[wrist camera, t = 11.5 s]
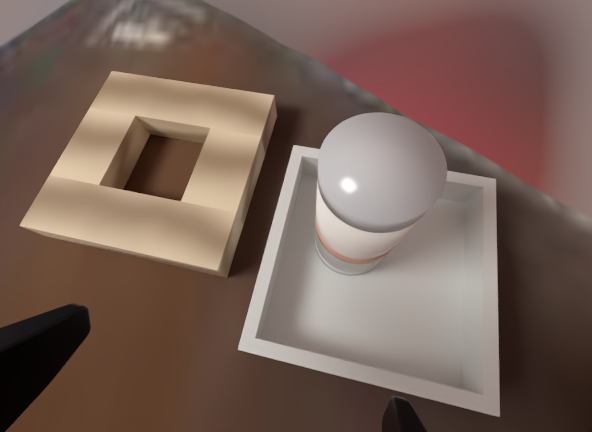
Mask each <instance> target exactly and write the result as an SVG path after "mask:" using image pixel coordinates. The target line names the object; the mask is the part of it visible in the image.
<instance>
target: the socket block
mask: <svg viewBox="0 0 592 432" xmlns="http://www.w3.org/2000/svg"><path fill="white" fill-rule="evenodd" d="M276 118H277V110H276V103H275V96H274V95H268V94H262V93H255V92H248V91H242V90H235V89H228V88H222V87H215V86H208V85H201V84H195V83H188V82H181V81H175V80H168V79H161V78H155V77H148V76H141V75H135V74H128V73H121V72H114V71H112V72H111V73H110V75H109V77H108V79H107V80H106V82H105V84H104V85H103V87H102V89H101V90H100V92H99V94H98V95H97V97H96V99H95V100H94V102H93V104H92V105H91V107H90V109H89V110H88V112H87V114H86V115H85V117H84V119H83V120H82V122H81V124H80V125H79V127H78V129H77V130H76V132H75V134H74V135H73V137H72V139H71V140H70V142H69V144H68V145H67V147H66V149H65V150H64V152H63V154H62V155H61V157H60V159H59V160H58V162H57V164H56V165H55V167H54V169H53V170H52V172H51V174H50V175H49V177H48V179H47V180H46V182H45V184H44V185H43V187H42V189H41V190H40V192H39V194H38V195H37V197H36V199H35V200H34V202H33V204H32V205H31V207H30V209H29V210H28V212H27V214H26V215H25V217H24V219H23V220H22V222H21V224H20V225H19V226H21V227H24V228H27V229H29V230H32V231H34V232H37V233H40V234H42V235H45V236H47V237H52V238H56V239H60V240H65V241H69V242H73V243H78V244H82V245H87V246H91V247H95V248H100V249H104V250H109V251H113V252H117V253H122V254H126V255H130V256H135V257H139V258H144V259H148V260H152V261H157V262H161V263H165V264H170V265H174V266H179V267H183V268H187V269H192V270H196V271H201V272H205V273H209V274H214V275H218V276H222V277H228V273H229V270H230V267H231V264H232V260H233V257H234V254H235V251H236V247H237V244H238V241H239V238H240V235H241V231H242V228H243V225H244V222H245V218H246V215H247V212H248V209H249V206H250V202H251V199H252V196H253V193H254V189H255V186H256V183H257V180H258V176H259V173H260V170H261V167H262V164H263V160H264V157H265V154H266V151H267V147H268V144H269V141H270V138H271V135H272V131H273V128H274V125H275V122H276ZM150 134H151V135H157V136H162V137H168V138H174V139H180V140H185V141H191V142H197V143H203V144H204V146H203V148H202V151H201V153H200V156H199V158H198V160H197V163H196V165H195V168H194V170H193V173H192V175H191V178H190V180H189V183H188V185H187V188H186V190H185V193H184V195H183V198H182V200H181V201H176V200H171V199H166V198H161V197H156V196H151V195H146V194H141V193H136V192H131V191H126V190H123V189H124V187H125V185H126V183H127V181H128V179H129V177H130V175H131V173H132V171H133V169H134V167H135V165H136V162H137V160H138V158H139V156H140V154H141V152H142V150H143V148H144V146H145V144H146V142H147V140H148V138H149V136H150Z"/></svg>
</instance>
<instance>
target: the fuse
mask: <svg viewBox="0 0 592 432" xmlns="http://www.w3.org/2000/svg"><path fill="white" fill-rule="evenodd" d="M446 179H447V164H446V159H445V156H444V153H443V151H442V149H441V147H440V145H439V144H438V142H437V141H436V140H435V138H434V137H433V136H432V135H431V134H430V133H429V132H428V131H427V130H426V129H424V128H423V127H422V126H420V125H419V124H417V123H415V122H414V121H412V120H409V119H407V118H405V117H402V116H399V115H395V114H390V113H366V114H361V115H357V116H354V117H351V118H349V119H347V120H345V121H343V122H342V123H340V124H339V125H337V126H336V127H335V128H334V129H333V130H332V131H331V132H330V133H329V134H328V135H327V137H326V138H325V140H324V142H323V144H322V146H321V149H320V152H319V157H318V175H317V198H316V214H315V248H316V251H317V254H318V256H319V258H320V259H321V261H322V262H323V263H324V264H325V265H326V266H327V267H328V268H329V269H331V270H332V271H334V272H336V273H338V274H342V275H346V276H357V275H362V274H365V273H367V272H369V271H371V270H372V269H373V268H375V266H376V265H377V264H378V263H379V262H380V261H381V260H382V259H383V258H384V257H385V256H386V255H387V254H388V253H389V252H390V251H391V250H392V249H393V248H394V247H395V246H396V244H397V243H398V242H399V241H400V240H401V239H402V238H403V237H404V236H405V235H406V234H407V232H408V231H409V230H410V229H411V228H412V227H413V226H414V225H415V224H416V223H417V222H418V221H419V220H420V219H421V218H422V216H423V215H424V214H425V213H426V212H427V211H428V210H429V209H430V208H431V207H432V206H433V205H434V204H435V203H436V201H437V200H438V199H439V197H440V196H441V194H442V192H443V190H444V187H445V184H446Z"/></svg>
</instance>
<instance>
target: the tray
mask: <svg viewBox="0 0 592 432" xmlns="http://www.w3.org/2000/svg"><path fill="white" fill-rule="evenodd" d="M319 152H320V149H315V148H309V147H303V146H297V145H293V149H292V153H291V156H290V160H289V164H288V167H287V171H286V175H285V178H284V182H283V186H282V189H281V193H280V197H279V200H278V204H277V208H276V211H275V215H274V219H273V222H272V226H271V230H270V233H269V237H268V241H267V244H266V248H265V251H264V255H263V259H262V262H261V266H260V270H259V273H258V277H257V281H256V284H255V288H254V292H253V295H252V299H251V303H250V306H249V310H248V314H247V317H246V321H245V325H244V328H243V332H242V336H241V339H240V343H239V347H238V350H241V351H245V352H249V353H252V354H256V355H260V356H264V357H268V358H272V359H276V360H280V361H283V362H287V363H291V364H295V365H299V366H303V367H307V368H311V369H315V370H318V371H322V372H326V373H330V374H334V375H338V376H342V377H346V378H350V379H353V380H357V381H361V382H365V383H369V384H373V385H377V386H381V387H385V388H388V389H392V390H396V391H400V392H404V393H408V394H412V395H416V396H420V397H423V398H427V399H431V400H435V401H439V402H443V403H447V404H451V405H455V406H458V407H462V408H466V409H470V410H474V411H478V412H482V413H486V414H490V415H493V416H497V417H500V391H499V333H498V276H497V218H496V179H493V178H487V177H481V176H475V175H469V174H463V173H457V172H451V171H447V179H446V184H445V187H444V190H443V192H442V194H441V196H440V197H439V199H438V200H437V201H436V203H435V204H434V205H433V206H432V207H431V208H430V209H429V210H428V211H427V212H426V213H425V214H424V215H423V216H422V218H421V219H420V220H419V221H418V222H417V223H416V224H415V225H414V226H413V227H412V228H411V229H410V230H409V231H408V232H407V234H406V235H405V236H404V237H403V238H402V239H401V240H400V241H399V242H398V243H397V244H396V246H395V247H394V248H393V249H392V250H391V251H390V252H389V253H388V254H387V255H386V256H385V257H384V258H383V259H382V260H381V261H380V262H379V263H378V264H377V265H376V266H375V268H373V269H372V270H371V271H369V272H367V273H365V274H362V275H357V276H346V275H342V274H338V273H336V272H334V271H332V270H331V269H329V268H328V267H327V266H326V265H325V264H324V263H323V262H322V261H321V259H320V258H319V256H318V254H317V251H316V248H315V214H316V198H317V175H318V157H319Z"/></svg>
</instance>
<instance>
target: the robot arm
mask: <svg viewBox="0 0 592 432" xmlns="http://www.w3.org/2000/svg"><path fill="white" fill-rule="evenodd" d="M90 328H91V325H90V318H89V311H88V308H87V307H86V306H83V305H79V304H76V303H72V304H68V305H66V306H63V307H60V308H57V309H54V310H51V311H48V312H45V313H42V314H40V315H37V316H34V317H31V318H28V319H25V320H22V321H19V322H16V323H14V324H11V325H8V326H5V327H2V328H0V432H5V431H6V430H7V429H8V428H9V427H10V426H11V425H12V424H13V423H14V422H15V420H16V419H17V418H18V417H19V416H20V415H21V414H22V413H23V412H24V411H25V410H26V409H27V408H28V406H29V405H30V404H31V403H32V402H33V401H34V400H35V399H36V398H37V397H38V396H39V395H40V394H41V392H42V391H43V390H44V389H45V388H46V387H47V386H48V385H49V383H50V382H51V381H52V380H53V379H54V377H55V376H56V375H57V374H58V372H59V371H60V370H61V369H62V367H63V366H64V365H65V364H66V362H67V361H68V360H69V359H70V357H71V356H72V355H73V353H74V352H75V351H76V350H77V348H78V347H79V346H80V345H81V343H82V342H83V341H84V340H85V338H86V337H87V336H88V334H89V332H90ZM382 432H427V430H426V429H425V427H424V425H423V423H422V422H421V420H420V418H419V417H418V415H417V413H416V411H415V410H414V408H413V406H412V404H411V403H410V402H409V400H407V399H405V398H401V397H398V396H392V397H391V399H390V401H389V404H388V406H387V408H386V411H385V413H384V416H383V421H382Z"/></svg>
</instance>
